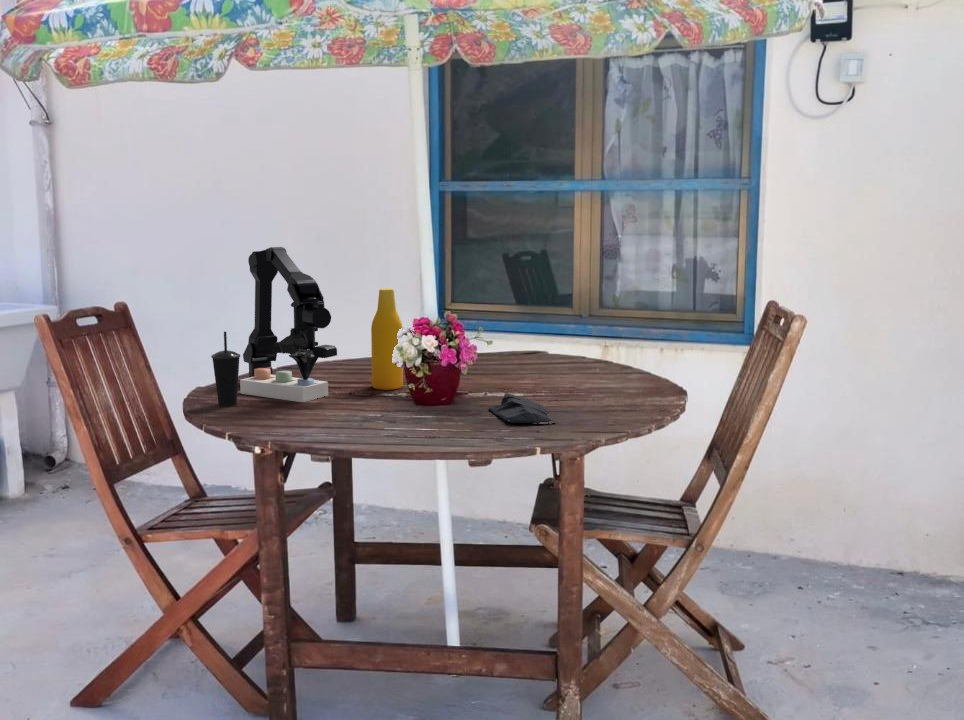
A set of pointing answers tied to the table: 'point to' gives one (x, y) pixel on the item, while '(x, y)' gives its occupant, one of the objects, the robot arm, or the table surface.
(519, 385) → the table surface
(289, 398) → the console
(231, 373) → the drinking cup
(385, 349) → the beer bottle
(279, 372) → the button sage
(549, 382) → the table surface
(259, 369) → the button terracotta
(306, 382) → the button slate
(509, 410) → the dark slate chunk
